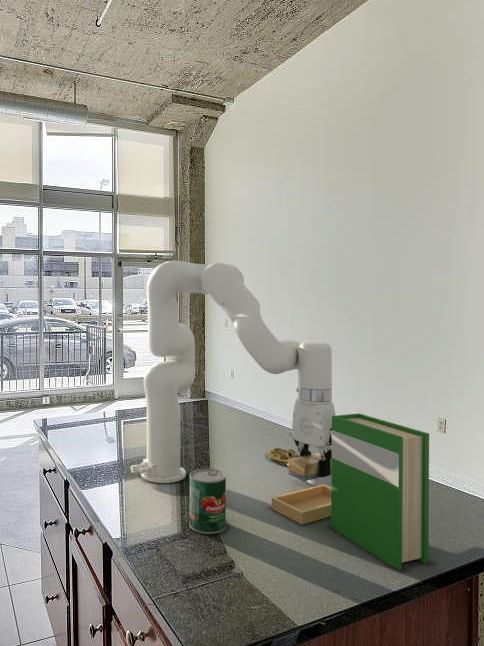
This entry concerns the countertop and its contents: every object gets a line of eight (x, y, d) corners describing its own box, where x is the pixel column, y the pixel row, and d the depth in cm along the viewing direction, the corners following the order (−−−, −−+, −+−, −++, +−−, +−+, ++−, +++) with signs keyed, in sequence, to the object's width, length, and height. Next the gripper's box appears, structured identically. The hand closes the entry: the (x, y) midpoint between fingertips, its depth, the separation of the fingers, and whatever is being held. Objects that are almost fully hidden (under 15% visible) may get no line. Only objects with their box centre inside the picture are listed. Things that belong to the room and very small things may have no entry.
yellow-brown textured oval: (260, 456, 155) (283, 471, 141) (259, 442, 155) (282, 455, 141) (286, 451, 158) (312, 465, 143) (284, 436, 158) (310, 449, 143)
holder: (302, 524, 105) (302, 513, 105) (271, 508, 113) (271, 497, 113) (356, 508, 113) (356, 497, 113) (323, 494, 122) (324, 484, 122)
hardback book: (428, 562, 90) (429, 433, 90) (397, 569, 87) (398, 437, 87) (358, 522, 106) (359, 413, 106) (331, 527, 104) (331, 416, 103)
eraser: (304, 481, 108) (304, 465, 108) (288, 474, 112) (288, 459, 112) (341, 472, 114) (341, 457, 114) (324, 466, 118) (324, 451, 118)
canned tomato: (216, 537, 99) (216, 484, 99) (182, 528, 103) (182, 476, 103) (231, 522, 106) (232, 472, 105) (199, 514, 110) (199, 466, 110)
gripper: (277, 391, 119) (277, 464, 119) (333, 403, 104) (333, 487, 104) (299, 388, 122) (299, 460, 122) (356, 399, 108) (356, 481, 108)
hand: (314, 471), depth 113 cm, fingers closed on eraser, 5 cm apart
